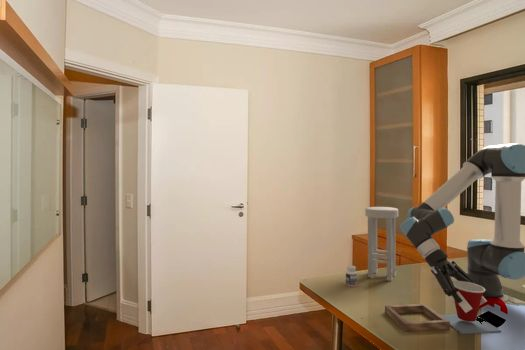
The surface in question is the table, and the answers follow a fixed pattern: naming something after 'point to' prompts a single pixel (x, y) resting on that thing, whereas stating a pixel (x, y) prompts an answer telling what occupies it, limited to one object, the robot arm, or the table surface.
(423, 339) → the table surface
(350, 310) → the table surface
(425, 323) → the wooden frame
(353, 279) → the pill bottle
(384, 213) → the stool
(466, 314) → the plastic cup
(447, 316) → the coaster
